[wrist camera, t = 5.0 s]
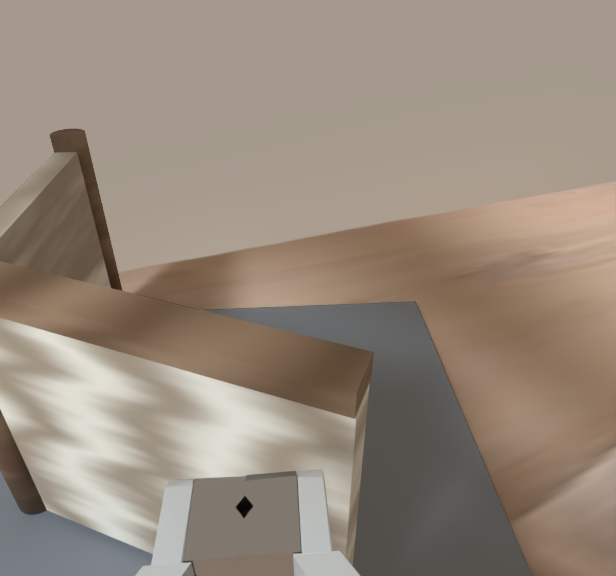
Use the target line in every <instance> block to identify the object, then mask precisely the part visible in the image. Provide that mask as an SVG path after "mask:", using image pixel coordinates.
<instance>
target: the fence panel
mask: <svg viewBox="0 0 616 576" xmlns="http://www.w3.org/2000/svg"><path fill="white" fill-rule="evenodd" d="M373 355H374V352H372V351H368V350H364V349H360V348H355V347H351V346H347V345H343V344H339V343H335V342H331V341H327V340H322V339H318V338H314V337H310V336H306V335H302V334H298V333H294V332H290V331H285V330H281V329H277V328H273V327H269V326H265V325H261V324H257V323H252V322H248V321H244V320H240V319H236V318H232V317H228V316H224V315H219V314H215V313H211V312H207V311H203V310H199V309H195V308H191V307H186V306H182V305H178V304H174V303H170V302H166V301H162V300H158V299H153V298H149V297H145V296H141V295H137V294H133V293H129V292H125V291H121V290H116V289H112V288H108V287H104V286H100V285H96V284H92V283H88V282H83V281H79V280H75V279H71V278H67V277H63V276H59V275H55V274H50V273H46V272H42V271H38V270H34V269H30V268H26V267H22V266H17V265H13V264H9V263H5V262H1V261H0V410H1V412H2V414H3V416H4V418H5V421H6V423H7V425H8V427H9V429H10V431H11V434H12V436H13V438H14V440H15V442H16V444H17V447H18V449H19V451H20V453H21V455H22V457H23V460H24V462H25V464H26V466H27V468H28V470H29V473H30V475H31V477H32V479H33V481H34V483H35V485H36V488H37V490H38V492H39V494H40V496H41V498H42V501H43V503H44V505H45V507H46V509H47V510H48V511H50V512H52V513H55V514H57V515H60V516H62V517H65V518H67V519H69V520H72V521H74V522H77V523H79V524H81V525H84V526H86V527H89V528H91V529H93V530H96V531H98V532H101V533H103V534H105V535H108V536H110V537H113V538H115V539H117V540H120V541H122V542H125V543H127V544H129V545H132V546H134V547H137V548H139V549H141V550H144V551H146V552H149V553H151V554H153V551H154V546H155V540H156V535H157V529H158V524H159V519H160V513H161V508H162V502H163V497H164V492H165V488H166V485H167V483H168V481H169V480H177V479H192V478H215V477H235V476H246V475H252V474H264V473H275V472H287V471H296V475H297V471H309V470H320V469H322V471H323V473H324V479H325V487H326V496H327V505H328V513H329V522H330V531H331V539H332V548H333V551H337V550H341V551H342V553H343V554H344V555H345V557H346V558H347V559H348V560H349V562H350V563H351V564H352V565H353V558H354V547H355V536H356V525H357V514H358V504H359V493H360V482H361V471H362V460H363V450H364V439H365V428H366V417H367V406H368V396H369V385H370V380H371V376H372V365H373Z"/></svg>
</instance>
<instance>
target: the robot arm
mask: <svg viewBox="0 0 616 576" xmlns="http://www.w3.org/2000/svg"><path fill="white" fill-rule="evenodd" d="M135 576H360V574H359V573H358V572H357V570H356V569H355V568H354V567H353V565H352V564H351V563H350V562H349V560H348V559H347V558H346V557H345V555H344V554H343V553H342V551H341V550H337V551H333V548H332V539H331V531H330V522H329V513H328V505H327V496H326V487H325V479H324V473H323V471H322V469H320V470H309V471H297V475H296V471H287V472H275V473H264V474H252V475H246V476H235V477H215V478H192V479H177V480H169V481H168V483H167V485H166V488H165V492H164V497H163V502H162V508H161V513H160V519H159V524H158V529H157V535H156V540H155V546H154V551H153V557H152V562H151V565H145V566H142V567H141V569H140V570H139V571H138V572H137V574H136V575H135Z"/></svg>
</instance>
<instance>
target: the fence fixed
mask: <svg viewBox="0 0 616 576" xmlns="http://www.w3.org/2000/svg"><path fill="white" fill-rule="evenodd" d="M50 138H51V142H52V145H53V149H54V154H53V155H52V156H51V157H50V158H49V159H48V160H47V161H46V162H45V163H44V164H43V165H42V166H40V168H38V169H37V170H36V172H34V173H33V174H32V175H31V176H30V177H29V179H27V180H26V181H25V182H24V183H23V184H22V186H21V187H19V188H18V189H17V190H16V191H15V192H14V193H13V194H12V195H11V196H10V197H9V198H8V199H7V200H6V201H5V202H4V203H3V204H2V205H1V206H0V261H1V262H5V263H9V264H13V265H17V266H22V267H26V268H30V269H34V270H38V271H42V272H46V273H50V274H55V275H59V276H63V277H67V278H71V279H75V280H79V281H83V282H88V283H92V284H96V285H100V286H104V287H108V288H112V289H116V290H121V291H122V287H121V283H120V279H119V275H118V270H117V267H116V262H115V258H114V254H113V249H112V245H111V241H110V236H109V232H108V228H107V224H106V219H105V215H104V211H103V207H102V203H101V198H100V194H99V190H98V185H97V182H96V177H95V173H94V169H93V164H92V160H91V156H90V152H89V147H88V143H87V139H86V135H85V131H84V130H81V129H64V130H59V131H55V132H53V133H51V134H50ZM0 471H1V473H2V475H3V477H4V479H5V481H6V483H7V485H8V487H9V489H10V491H11V493H12V495H13V497H14V499H15V501H16V503H17V505H18V507H19V509H20V510H21V511H22V512H23V513H25V514H28V515H36V514H40V513H43V512H45V511H47V509H46V507H45V505H44V503H43V501H42V498H41V496H40V494H39V492H38V490H37V488H36V485H35V483H34V481H33V479H32V477H31V475H30V473H29V470H28V468H27V466H26V464H25V462H24V460H23V457H22V455H21V453H20V451H19V449H18V447H17V444H16V442H15V440H14V438H13V436H12V434H11V431H10V429H9V427H8V425H7V423H6V421H5V418H4V416H3V414H2V412H1V410H0Z"/></svg>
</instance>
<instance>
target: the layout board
mask: <svg viewBox="0 0 616 576" xmlns="http://www.w3.org/2000/svg"><path fill="white" fill-rule="evenodd" d="M203 311H207V312H211V313H215V314H219V315H224V316H228V317H232V318H236V319H240V320H244V321H248V322H252V323H257V324H261V325H265V326H269V327H273V328H277V329H281V330H285V331H290V332H294V333H298V334H302V335H306V336H310V337H314V338H318V339H322V340H327V341H331V342H335V343H339V344H343V345H347V346H351V347H355V348H360V349H364V350H368V351H372V352H374V355H373V365H372V376H371V380H370V385H369V396H368V406H367V417H366V428H365V439H364V450H363V460H362V471H361V482H360V493H359V504H358V514H357V525H356V536H355V547H354V558H353V567H354V568H355V569H356V570H357V572H358V573H359V574H360V576H532V575H531V573H530V570H529V568H528V566H527V563H526V561H525V559H524V556H523V554H522V552H521V549H520V547H519V544H518V542H517V540H516V537H515V535H514V533H513V530H512V528H511V526H510V523H509V521H508V519H507V516H506V514H505V511H504V509H503V507H502V504H501V502H500V500H499V497H498V495H497V493H496V490H495V488H494V486H493V483H492V481H491V478H490V476H489V474H488V471H487V469H486V467H485V464H484V462H483V460H482V457H481V455H480V453H479V450H478V448H477V445H476V443H475V441H474V438H473V436H472V434H471V431H470V429H469V427H468V424H467V422H466V420H465V417H464V415H463V412H462V410H461V408H460V405H459V403H458V401H457V398H456V396H455V394H454V391H453V389H452V387H451V384H450V382H449V379H448V377H447V375H446V372H445V370H444V368H443V365H442V363H441V361H440V358H439V356H438V354H437V351H436V349H435V346H434V344H433V342H432V339H431V337H430V335H429V332H428V330H427V328H426V325H425V323H424V321H423V318H422V316H421V313H420V311H419V309H418V306H417V304H416V302H415V301H414V302H389V303H363V304H338V305H313V306H287V307H262V308H236V309H211V310H203ZM152 557H153V554H151V553H149V552H146V551H144V550H141V549H139V548H137V547H134V546H132V545H129V544H127V543H125V542H122V541H120V540H117V539H115V538H113V537H110V536H108V535H105V534H103V533H101V532H98V531H96V530H93V529H91V528H89V527H86V526H84V525H81V524H79V523H77V522H74V521H72V520H69V519H67V518H65V517H62V516H60V515H57V514H55V513H52V512H50V511H48V510H47V511H45V512H43V513H40V514H36V515H28V514H25V513H23V512H22V511H21V510H20V509H19V507H18V505H17V503H16V501H15V499H14V497H13V495H12V493H11V491H10V489H9V487H8V485H7V483H6V481H5V479H4V477H3V475H2V473H1V471H0V576H135V575H136V574H137V572H138V571H139V570H140V569H141V567H142V566H145V565H151V562H152Z"/></svg>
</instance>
